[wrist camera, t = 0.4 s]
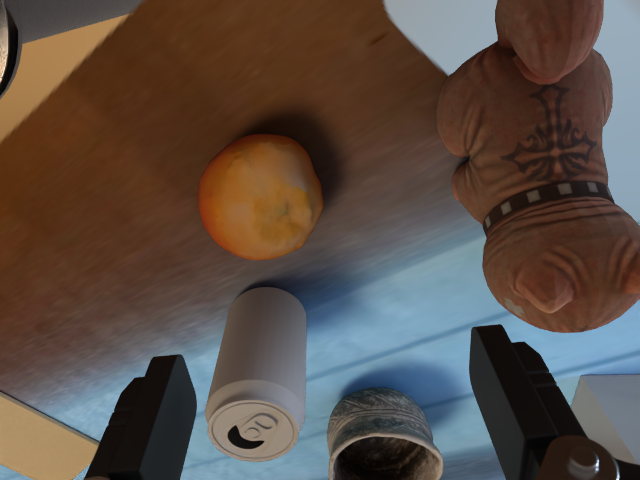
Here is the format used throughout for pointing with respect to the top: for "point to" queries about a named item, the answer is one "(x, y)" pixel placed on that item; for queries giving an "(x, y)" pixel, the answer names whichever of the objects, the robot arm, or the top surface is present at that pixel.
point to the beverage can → (259, 377)
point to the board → (41, 443)
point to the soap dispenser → (611, 413)
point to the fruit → (260, 197)
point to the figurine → (542, 167)
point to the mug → (381, 438)
